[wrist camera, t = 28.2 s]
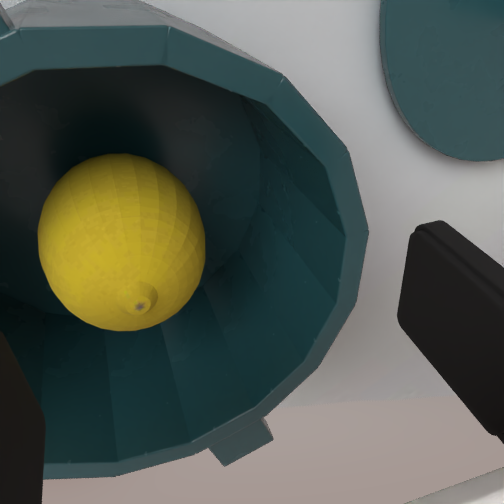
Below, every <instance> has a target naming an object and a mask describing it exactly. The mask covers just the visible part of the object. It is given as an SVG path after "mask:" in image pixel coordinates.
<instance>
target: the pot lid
mask: <svg viewBox="0 0 504 504" xmlns="http://www.w3.org/2000/svg"><path fill="white" fill-rule="evenodd" d="M380 49H381V57H382V66H383V70H384V74H385V78H386V82H387V86H388V90H389V92H390V95H391V97H392V100H393V102H394V105H395V107H396V109H397V110H398V112H399V114H400V115H401V117H402V119H403V120H404V122H405V123H406V125H407V126H408V127H409V128H410V129H411V130H412V132H413V133H414V134H415V135H416V136H417V137H418V138H420V139H421V140H422V141H423V142H425V143H426V144H427V145H428V146H430V147H432V148H434V149H436V150H438V151H440V152H441V153H443V154H445V155H448V156H451V157H454V158H457V159H461V160H469V161H493V160H498V159H503V158H504V0H381V8H380Z"/></svg>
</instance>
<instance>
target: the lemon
mask: <svg viewBox="0 0 504 504" xmlns="http://www.w3.org/2000/svg"><path fill="white" fill-rule="evenodd" d="M38 248H39V257H40V262H41V265H42V267H43V270H44V272H45V275H46V277H47V280H48V282H49V285H50V287H51V289H52V290H53V292H54V294H55V295H56V296H57V297H58V298H59V300H60V301H61V302H62V303H63V305H64V306H65V307H66V308H67V309H68V310H69V311H70V312H71V313H73V314H74V315H76V316H77V317H78V318H80V319H81V320H83V321H85V322H86V323H89V324H91V325H94V326H96V327H99V328H102V329H107V330H113V331H136V330H140V329H145V328H149V327H152V326H154V325H156V324H159V323H161V322H163V321H165V320H167V319H168V318H170V317H171V316H173V315H174V314H176V313H177V312H178V311H179V310H180V309H181V308H182V307H183V306H184V305H185V304H186V303H187V302H188V301H189V299H190V298H191V296H192V295H193V293H194V291H195V290H196V288H197V286H198V284H199V282H200V279H201V275H202V271H203V268H204V264H205V231H204V227H203V223H202V220H201V217H200V213H199V210H198V207H197V205H196V203H195V201H194V199H193V198H192V196H191V195H190V193H189V192H188V190H187V189H186V187H185V186H184V184H183V183H182V182H181V181H180V180H179V179H178V178H176V177H175V176H174V175H173V174H172V173H171V172H170V171H168V170H167V169H166V168H165V167H163V166H161V165H159V164H157V163H155V162H153V161H151V160H149V159H147V158H145V157H141V156H136V155H132V154H128V153H119V154H105V155H101V156H97V157H93V158H89V159H87V160H85V161H83V162H81V163H80V164H78V165H76V166H74V167H72V168H71V169H70V170H69V171H68V172H67V173H66V174H65V175H64V176H63V177H61V178H60V179H59V180H58V181H57V182H56V184H55V185H54V187H53V189H52V190H51V192H50V194H49V195H48V197H47V199H46V200H45V202H44V205H43V209H42V212H41V216H40V220H39V224H38Z"/></svg>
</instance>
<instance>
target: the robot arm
mask: <svg viewBox="0 0 504 504" xmlns="http://www.w3.org/2000/svg"><path fill="white" fill-rule="evenodd" d="M397 318H398V322H399V324H400V326H401V328H402V329H403V330H404V332H405V333H406V334H407V335H408V336H409V338H410V339H411V340H412V341H413V342H414V344H415V345H416V346H417V347H418V349H419V350H420V351H421V352H422V353H423V355H424V356H425V357H426V358H427V359H428V361H429V362H430V363H431V364H432V365H433V367H434V368H435V369H436V370H437V371H438V373H439V374H440V375H441V376H442V378H443V379H444V380H445V381H446V382H447V384H448V385H449V386H450V387H451V388H452V390H453V391H454V392H455V393H456V394H457V396H458V397H459V398H460V399H461V400H462V401H463V403H464V404H465V405H466V407H467V408H468V409H469V410H470V411H471V413H472V414H473V415H474V416H475V417H476V419H477V420H478V421H479V422H480V423H481V425H482V426H483V427H484V428H485V429H486V430H487V431H488V433H490V434H491V435H495V436H496V435H497V436H498V438H499V439H500V440H501V441H502V443H503V444H504V267H502V266H501V265H500V264H499V263H497V262H496V261H495V260H493V259H492V258H491V257H490V256H488V255H487V254H486V253H484V252H483V251H482V250H481V249H479V248H478V247H477V246H475V245H474V244H473V243H472V242H470V241H469V240H468V239H466V238H465V237H464V236H463V235H461V234H460V233H459V232H458V231H456V230H455V229H454V228H452V227H451V226H450V225H449V224H447V223H446V222H444V221H441V220H438V221H434V222H430V223H426V224H421V225H419V226H417V227H416V229H415V231H414V232H413V233H412V234H411V235H410V238H409V244H408V250H407V256H406V262H405V269H404V275H403V281H402V287H401V293H400V300H399V306H398V312H397ZM45 434H46V424H45V418H44V414H43V412H42V409H41V407H40V405H39V403H38V401H37V399H36V397H35V395H34V394H33V392H32V390H31V388H30V386H29V384H28V382H27V380H26V378H25V376H24V374H23V372H22V370H21V368H20V366H19V364H18V362H17V360H16V358H15V356H14V354H13V352H12V350H11V348H10V346H9V344H8V342H7V340H6V338H5V336H4V334H3V333H2V332H1V331H0V504H42V486H43V470H44V452H45ZM405 504H504V467H502V468H500V469H497V470H494V471H492V472H489V473H486V474H484V475H481V476H478V477H476V478H473V479H470V480H467V481H464V482H462V483H459V484H456V485H454V486H451V487H448V488H445V489H443V490H440V491H438V492H435V493H432V494H429V495H426V496H424V497H421V498H418V499H416V500H413V501H410V502H408V503H405Z"/></svg>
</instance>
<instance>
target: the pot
mask: <svg viewBox="0 0 504 504" xmlns="http://www.w3.org/2000/svg"><path fill="white" fill-rule="evenodd" d="M119 153H128V154H132V155H136V156H141V157H145V158H147V159H149V160H151V161H153V162H155V163H157V164H159V165H161V166H163V167H165V168H166V169H167V170H168V171H170V172H171V173H172V174H173V175H174V176H175V177H176V178H178V179H179V180H180V181H181V182H182V183H183V184H184V186H185V187H186V189H187V190H188V192H189V193H190V195H191V196H192V198H193V199H194V201H195V203H196V205H197V207H198V210H199V213H200V217H201V220H202V223H203V227H204V231H205V264H204V268H203V271H202V275H201V279H200V282H199V284H198V286H197V288H196V290H195V291H194V293H193V295H192V296H191V298H190V299H189V301H188V302H187V303H186V304H185V305H184V306H183V307H182V308H181V309H180V310H179V311H178V312H177V313H176V314H174V315H173V316H171V317H170V318H168V319H167V320H165V321H163V322H161V323H159V324H156V325H154V326H152V327H149V328H145V329H140V330H136V331H113V330H107V329H102V328H99V327H96V326H94V325H91V324H89V323H86V322H85V321H83V320H81V319H80V318H78V317H77V316H76V315H74V314H73V313H71V312H70V311H69V310H68V309H67V308H66V307H65V306H64V305H63V303H62V302H61V301H60V300H59V298H58V297H57V296H56V295H55V294H54V292H53V290H52V289H51V287H50V285H49V282H48V280H47V277H46V275H45V272H44V270H43V267H42V265H41V262H40V257H39V248H38V224H39V220H40V216H41V212H42V209H43V205H44V202H45V200H46V199H47V197H48V195H49V194H50V192H51V190H52V189H53V187H54V185H55V184H56V182H57V181H58V180H59V179H60V178H61V177H63V176H64V175H65V174H66V173H67V172H68V171H69V170H70V169H71V168H72V167H74V166H76V165H78V164H80V163H81V162H83V161H85V160H87V159H89V158H93V157H97V156H101V155H105V154H119ZM368 235H369V230H368V224H367V220H366V216H365V212H364V208H363V205H362V201H361V197H360V193H359V189H358V185H357V181H356V177H355V173H354V169H353V165H352V161H351V157H350V154H349V151H348V150H347V147H346V146H345V145H344V144H343V142H342V141H341V140H340V139H339V138H338V137H337V135H336V134H335V133H334V132H333V131H332V130H331V129H330V127H329V126H328V125H327V124H326V123H325V122H324V120H323V119H322V118H321V117H320V116H319V115H318V114H317V112H316V111H315V110H314V109H313V108H312V107H311V106H310V104H309V103H308V102H307V101H306V100H305V99H304V97H303V96H302V95H301V94H300V93H299V92H298V91H297V89H296V88H295V87H294V86H293V85H292V84H291V82H290V81H289V80H288V79H287V78H286V77H285V76H283V74H282V73H280V72H278V71H276V70H275V69H273V68H271V67H269V66H268V65H266V64H264V63H262V62H261V61H259V60H257V59H255V58H254V57H252V56H250V55H248V54H247V53H245V52H243V51H241V50H240V49H238V48H236V47H234V46H233V45H231V44H229V43H227V42H226V41H224V40H222V39H220V38H219V37H217V36H215V35H213V34H212V33H210V32H208V31H206V30H205V29H203V28H200V27H198V26H196V25H194V24H191V23H189V22H187V21H185V20H182V19H180V18H178V17H176V16H173V15H171V14H169V13H167V12H165V11H162V10H160V9H157V8H155V7H153V6H151V5H148V4H146V3H144V2H142V1H139V0H26V1H24V2H21V3H19V4H17V5H15V6H13V7H11V8H9V9H7V10H5V9H4V8H3V6H2V5H1V3H0V331H1V332H2V333H3V334H4V336H5V338H6V340H7V342H8V344H9V346H10V348H11V350H12V352H13V354H14V356H15V358H16V360H17V362H18V364H19V366H20V368H21V370H22V372H23V374H24V376H25V378H26V380H27V382H28V384H29V386H30V388H31V390H32V392H33V394H34V395H35V397H36V399H37V401H38V403H39V405H40V407H41V409H42V412H43V414H44V418H45V424H46V434H45V452H44V470H43V479H68V478H69V479H70V478H97V477H116V476H120V475H123V474H127V473H131V472H134V471H138V470H141V469H145V468H149V467H152V466H156V465H159V464H163V463H167V462H170V461H174V460H177V459H181V458H185V457H188V456H192V455H194V454H195V453H199V452H201V451H203V450H205V449H207V448H209V449H210V451H211V452H212V453H213V454H214V455H215V456H216V458H217V459H218V460H219V461H220V462H221V464H222V465H223V466H224V467H225V466H227V465H229V464H231V463H233V462H234V461H236V460H238V459H240V458H242V457H243V456H245V455H247V454H249V453H251V452H252V451H254V450H256V449H258V448H260V447H262V446H263V445H265V444H267V443H269V442H271V441H273V436H272V434H271V432H270V429H269V427H268V424H267V422H266V420H265V419H264V417H265V416H266V415H267V414H268V413H270V412H271V411H272V410H273V409H274V408H275V407H276V406H277V405H278V404H279V403H280V402H281V401H283V400H284V399H285V398H286V397H287V396H288V395H289V394H290V393H291V392H292V391H293V390H294V389H295V388H297V387H298V386H299V385H300V384H301V383H302V382H303V381H304V380H305V379H306V378H307V377H308V376H309V375H311V374H312V373H313V372H314V371H315V370H316V369H317V368H318V366H319V365H320V364H321V362H322V360H323V359H324V357H325V355H326V354H327V352H328V350H329V349H330V347H331V345H332V343H333V342H334V340H335V338H336V337H337V335H338V333H339V332H340V330H341V328H342V327H343V325H344V323H345V321H346V320H347V318H348V316H349V315H350V313H351V311H352V310H353V308H354V306H355V303H356V301H357V296H358V290H359V285H360V279H361V273H362V268H363V262H364V257H365V251H366V246H367V240H368Z"/></svg>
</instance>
